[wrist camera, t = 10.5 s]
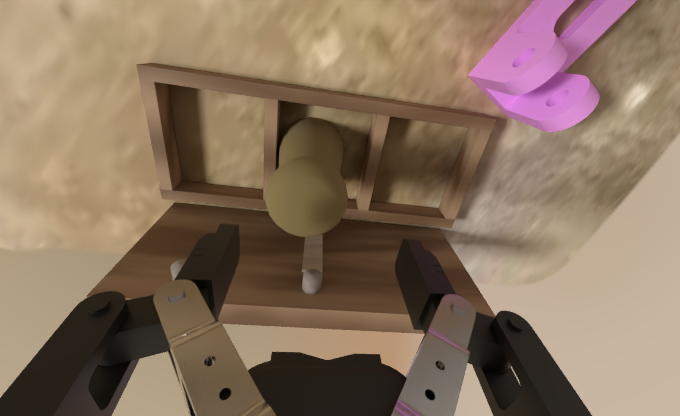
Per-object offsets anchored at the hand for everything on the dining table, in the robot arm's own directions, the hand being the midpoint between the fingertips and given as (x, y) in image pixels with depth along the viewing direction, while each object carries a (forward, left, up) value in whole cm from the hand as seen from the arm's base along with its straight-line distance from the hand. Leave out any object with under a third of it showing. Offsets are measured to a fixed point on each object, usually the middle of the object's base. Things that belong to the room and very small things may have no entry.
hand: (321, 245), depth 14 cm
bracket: (-12, +17, -15) cm, 26 cm away
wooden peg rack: (+2, 0, -14) cm, 14 cm away
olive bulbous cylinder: (0, -1, -14) cm, 14 cm away
